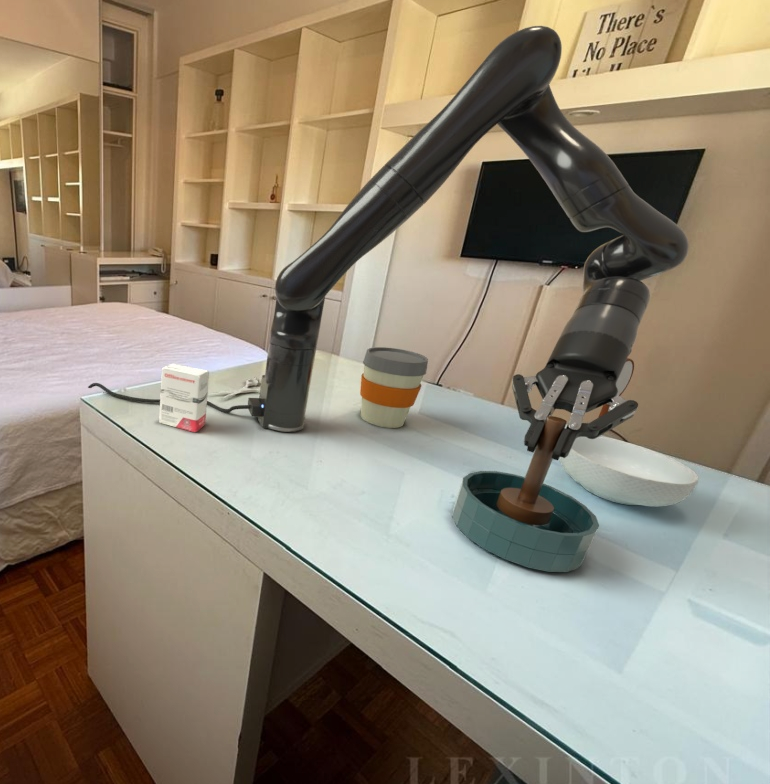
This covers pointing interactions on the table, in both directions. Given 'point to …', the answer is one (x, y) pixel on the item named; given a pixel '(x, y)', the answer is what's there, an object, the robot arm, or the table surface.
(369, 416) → the reusable coffee cup
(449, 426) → the table surface
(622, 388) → the magnifying glass
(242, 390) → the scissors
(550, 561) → the mixing bowl
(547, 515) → the wooden peg stand
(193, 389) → the ink box
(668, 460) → the cereal bowl
